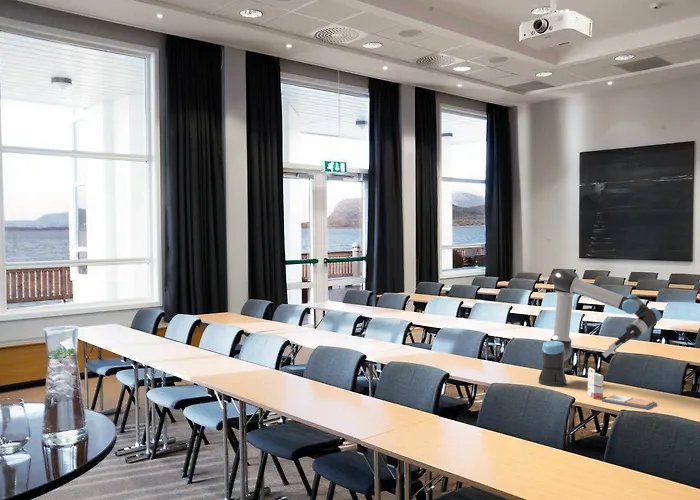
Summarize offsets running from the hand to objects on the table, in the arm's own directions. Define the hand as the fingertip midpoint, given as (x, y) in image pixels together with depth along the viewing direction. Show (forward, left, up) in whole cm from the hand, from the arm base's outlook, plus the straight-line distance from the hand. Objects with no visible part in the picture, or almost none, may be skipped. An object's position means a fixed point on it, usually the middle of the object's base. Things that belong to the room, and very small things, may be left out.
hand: (607, 352), depth 331 cm
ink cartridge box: (0, -15, -22) cm, 27 cm away
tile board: (+17, -15, -21) cm, 31 cm away
